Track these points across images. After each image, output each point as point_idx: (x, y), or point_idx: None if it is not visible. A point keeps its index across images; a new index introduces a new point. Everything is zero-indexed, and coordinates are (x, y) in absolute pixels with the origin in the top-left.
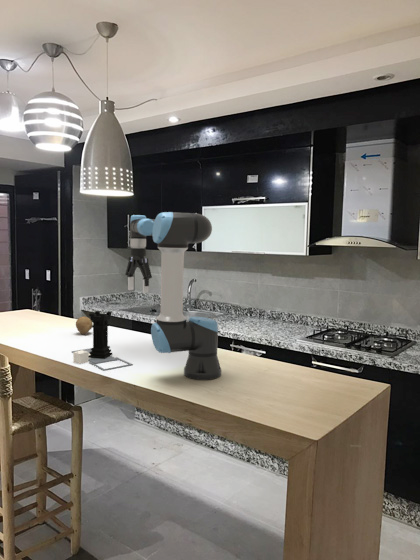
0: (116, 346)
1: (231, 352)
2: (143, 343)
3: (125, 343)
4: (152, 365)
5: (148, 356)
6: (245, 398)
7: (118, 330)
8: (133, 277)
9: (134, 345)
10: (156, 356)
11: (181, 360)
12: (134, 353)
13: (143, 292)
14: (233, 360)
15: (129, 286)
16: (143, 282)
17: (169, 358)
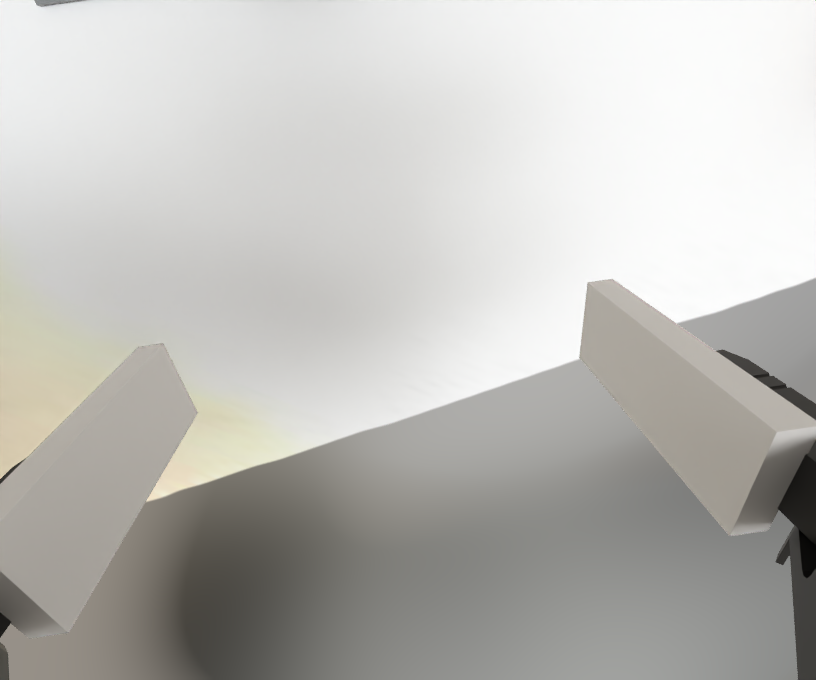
0: (485, 103)
1: (181, 483)
2: (465, 265)
3: (516, 181)
4: (24, 119)
5: (211, 179)
6: None
7: (782, 263)
8: (721, 520)
9: (452, 208)
10: (199, 216)
11: (100, 288)
12: (295, 135)
13: (137, 351)
14: None
15: (620, 320)
16: (11, 481)
17: (147, 256)
